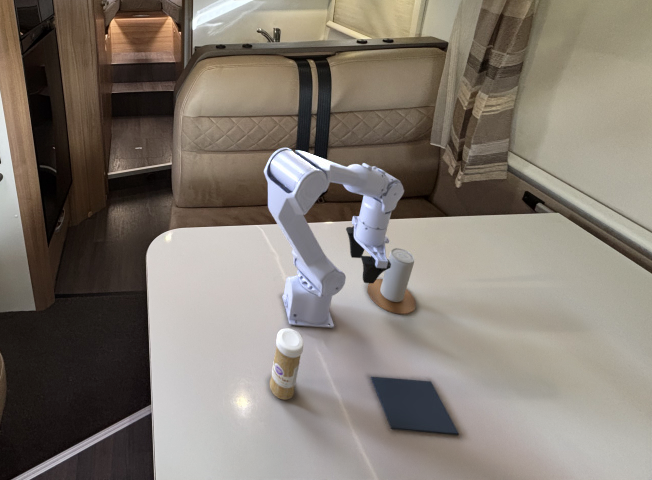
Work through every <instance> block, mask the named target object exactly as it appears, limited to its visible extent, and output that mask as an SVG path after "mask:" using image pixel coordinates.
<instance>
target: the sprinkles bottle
mask: <svg viewBox="0 0 652 480" xmlns="http://www.w3.org/2000/svg"><path fill="white" fill-rule="evenodd" d="M275 339H276V340H275V345H276V346H275V352H274V358H273V362H272V368H271V376H270V380H269V389H270V391H271V393H272V394H273V395H274V396H275V397H276V398H277V399H280V400H285V401H286V400H289V399H291V398H293V397H294V395H295V386H296V383H297V379H298V378H297V377H298V372H299V367H300V363H301V362H300V360H301V355H302V354H303V351H304V345H305V341H304V339H303V337H302V335H301V334H300V333H299V332H298V331H296V330H295V329H293V328H288V327H286V328H281V329H280V330H279V331H278V332H277V334H276V338H275Z"/></svg>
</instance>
